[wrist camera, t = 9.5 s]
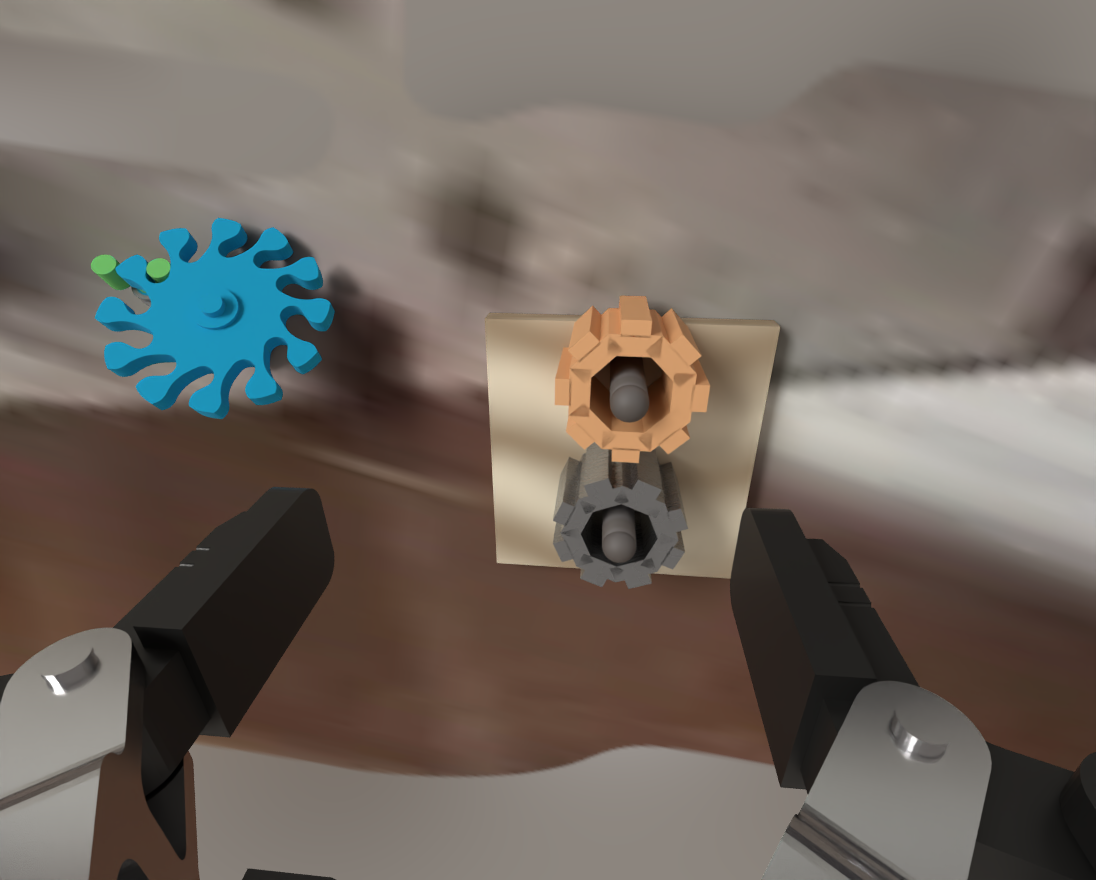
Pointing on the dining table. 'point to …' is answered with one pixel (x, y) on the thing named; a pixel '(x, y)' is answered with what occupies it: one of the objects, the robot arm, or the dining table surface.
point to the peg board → (552, 445)
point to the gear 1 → (668, 396)
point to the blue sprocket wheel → (212, 315)
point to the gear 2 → (608, 486)
